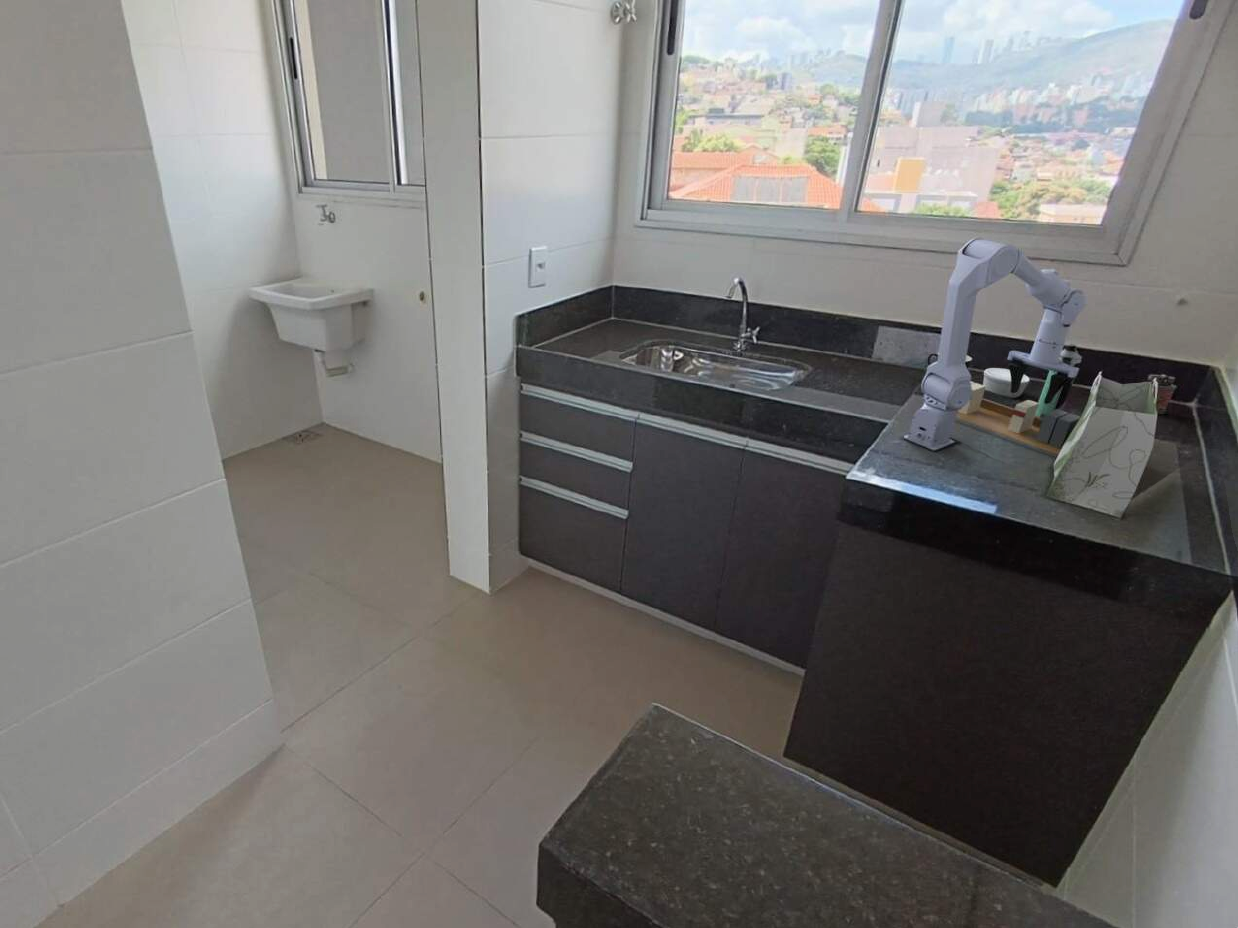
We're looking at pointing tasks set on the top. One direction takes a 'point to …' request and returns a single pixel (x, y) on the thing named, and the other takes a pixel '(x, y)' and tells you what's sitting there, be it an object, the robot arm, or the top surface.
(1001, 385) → the ramekin
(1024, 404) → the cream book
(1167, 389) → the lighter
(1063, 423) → the grey book
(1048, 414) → the grey book
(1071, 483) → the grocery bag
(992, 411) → the shelf board
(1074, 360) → the spray can
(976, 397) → the cream rectangular block
